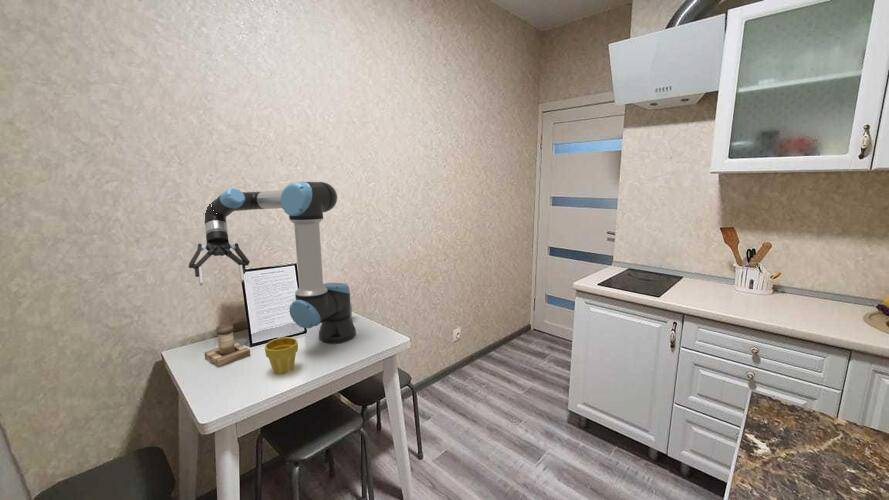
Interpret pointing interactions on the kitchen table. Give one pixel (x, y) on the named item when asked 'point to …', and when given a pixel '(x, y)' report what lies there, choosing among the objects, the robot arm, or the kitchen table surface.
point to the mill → (225, 339)
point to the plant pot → (282, 354)
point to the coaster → (241, 341)
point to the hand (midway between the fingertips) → (222, 282)
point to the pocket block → (232, 357)
